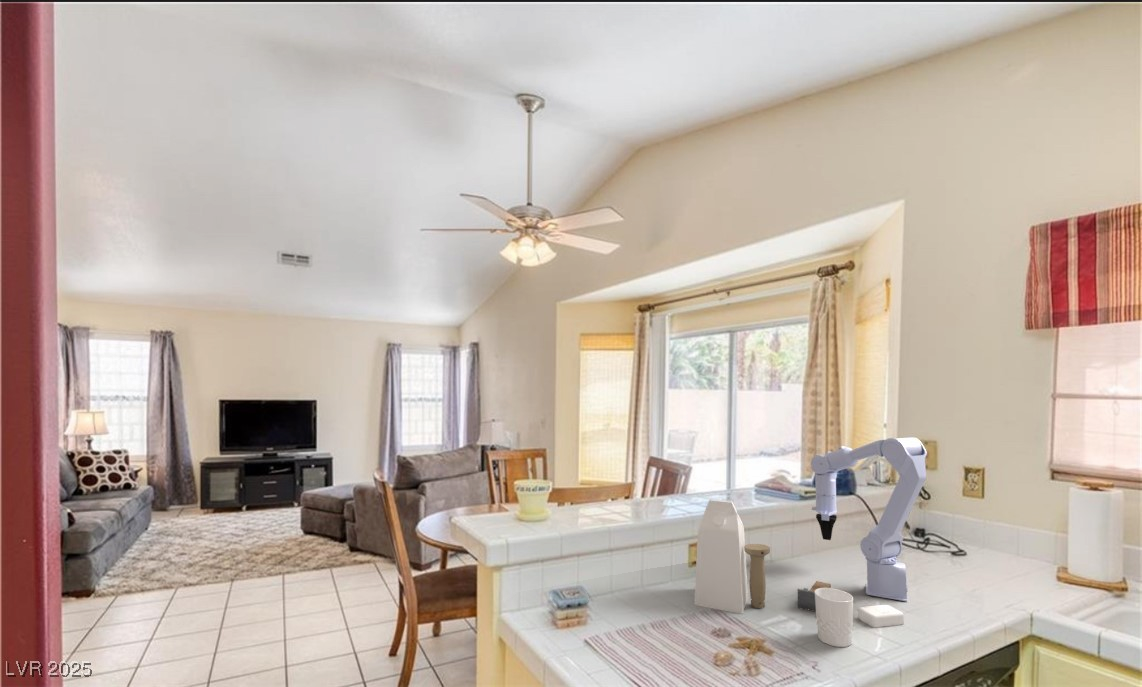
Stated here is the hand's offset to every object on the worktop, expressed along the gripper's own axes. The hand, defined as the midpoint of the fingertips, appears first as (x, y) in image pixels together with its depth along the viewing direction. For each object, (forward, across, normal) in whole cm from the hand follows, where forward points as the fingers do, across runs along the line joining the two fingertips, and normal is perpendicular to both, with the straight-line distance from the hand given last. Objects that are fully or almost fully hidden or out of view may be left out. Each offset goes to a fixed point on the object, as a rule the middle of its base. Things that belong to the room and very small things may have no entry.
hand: (826, 539), depth 161 cm
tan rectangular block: (+10, +24, -1) cm, 27 cm away
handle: (+10, +36, -15) cm, 40 cm away
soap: (+10, +30, +13) cm, 34 cm away
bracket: (+10, +28, -1) cm, 30 cm away
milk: (+10, +37, -24) cm, 45 cm away
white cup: (+10, +46, +3) cm, 47 cm away
